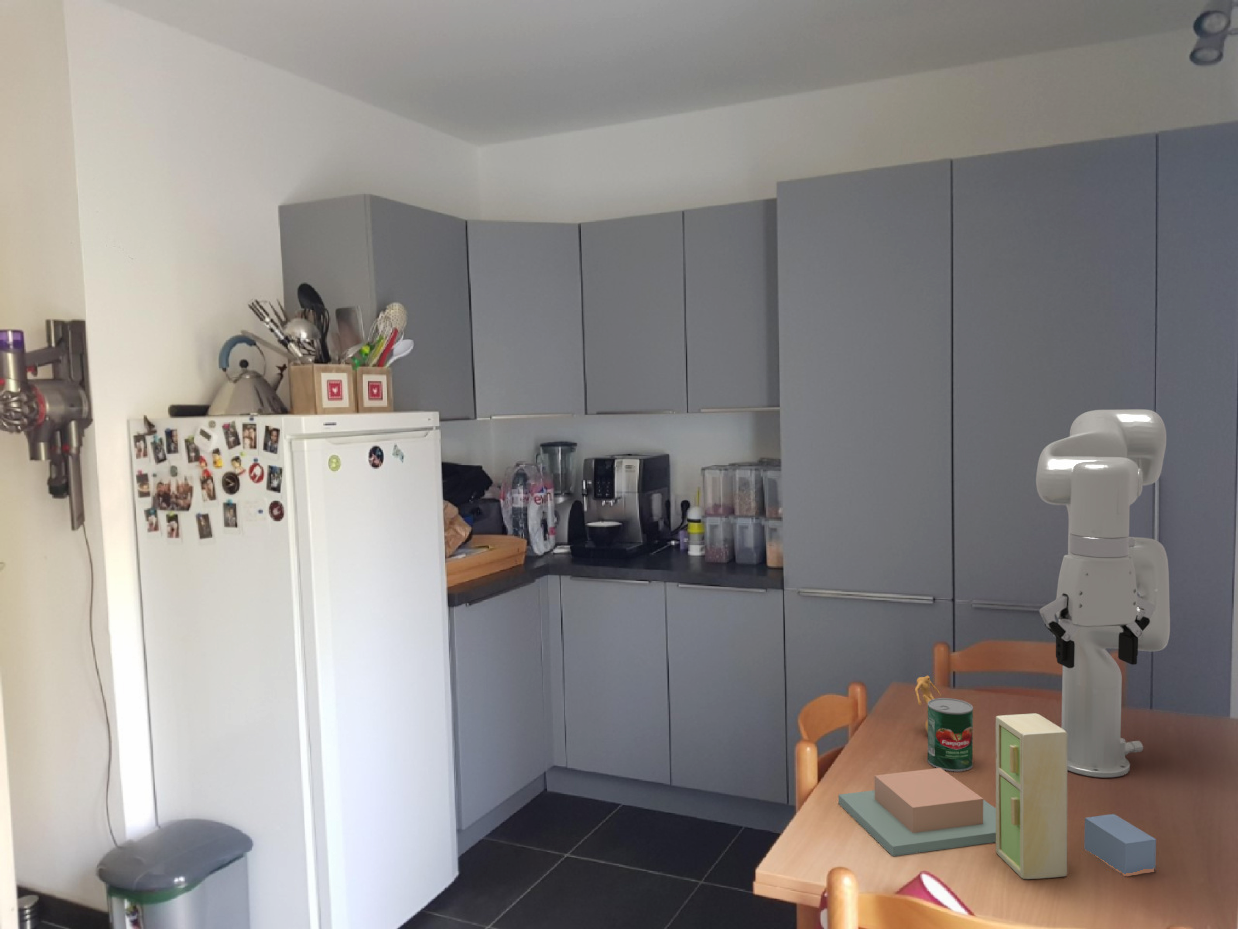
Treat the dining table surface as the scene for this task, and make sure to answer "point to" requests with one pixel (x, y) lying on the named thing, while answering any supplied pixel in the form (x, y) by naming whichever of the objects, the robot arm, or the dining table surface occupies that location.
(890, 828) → the block on teal plate
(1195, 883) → the dining table surface
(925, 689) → the figurine
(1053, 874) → the toy refrigerator
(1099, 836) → the slate brick
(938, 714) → the canned tomato
